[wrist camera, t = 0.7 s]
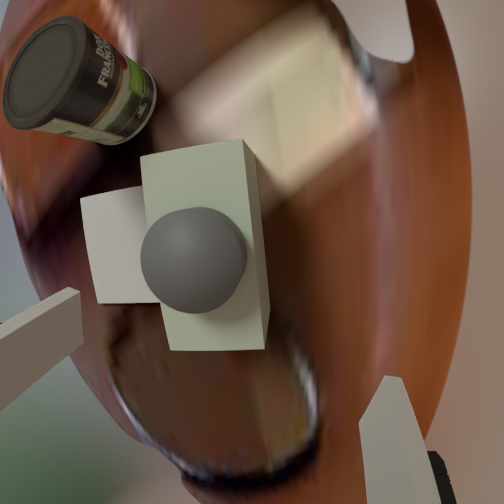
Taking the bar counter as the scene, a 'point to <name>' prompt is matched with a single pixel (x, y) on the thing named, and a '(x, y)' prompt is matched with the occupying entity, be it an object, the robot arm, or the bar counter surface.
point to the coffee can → (77, 86)
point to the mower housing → (187, 246)
